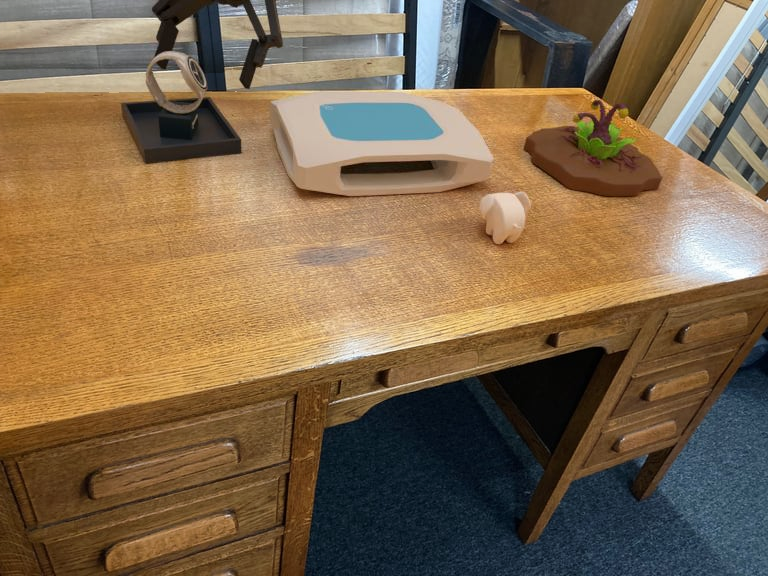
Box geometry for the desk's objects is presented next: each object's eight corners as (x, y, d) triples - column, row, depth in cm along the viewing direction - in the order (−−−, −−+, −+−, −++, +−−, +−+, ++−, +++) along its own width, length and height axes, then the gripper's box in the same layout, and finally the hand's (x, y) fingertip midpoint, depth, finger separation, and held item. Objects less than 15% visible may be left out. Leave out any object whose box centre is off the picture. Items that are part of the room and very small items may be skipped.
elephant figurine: (505, 216, 85) (516, 178, 81) (535, 250, 79) (549, 210, 76) (461, 220, 83) (471, 181, 79) (489, 255, 77) (501, 214, 73)
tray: (122, 116, 93) (120, 102, 92) (210, 109, 99) (209, 96, 98) (145, 163, 83) (143, 149, 82) (241, 152, 89) (241, 139, 88)
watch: (205, 141, 89) (202, 64, 82) (147, 135, 88) (138, 57, 81) (211, 124, 94) (209, 50, 87) (156, 119, 93) (149, 43, 86)
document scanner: (488, 190, 90) (499, 151, 86) (297, 200, 81) (300, 156, 77) (434, 127, 105) (441, 91, 102) (268, 129, 96) (269, 89, 92)
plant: (570, 201, 91) (597, 129, 84) (508, 140, 105) (526, 75, 98) (677, 194, 98) (710, 127, 91) (605, 138, 112) (629, 76, 105)
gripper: (325, -22, 97) (286, 104, 95) (178, -53, 100) (136, 68, 98) (316, -55, 90) (273, 80, 87) (158, -87, 93) (112, 43, 90)
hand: (201, 74), depth 93 cm, fingers open, 13 cm apart
